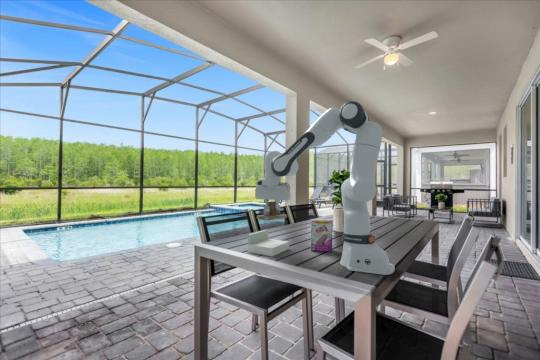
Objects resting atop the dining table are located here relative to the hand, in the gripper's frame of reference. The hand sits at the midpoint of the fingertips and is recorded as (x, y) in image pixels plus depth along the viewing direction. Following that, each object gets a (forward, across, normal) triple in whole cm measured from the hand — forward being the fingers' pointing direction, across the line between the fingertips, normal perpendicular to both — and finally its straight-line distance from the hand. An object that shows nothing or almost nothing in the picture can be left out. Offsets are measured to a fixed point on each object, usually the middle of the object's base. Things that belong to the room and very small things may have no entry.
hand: (272, 208), depth 139 cm
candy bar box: (+23, -22, -16) cm, 35 cm away
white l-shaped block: (+23, +2, 0) cm, 23 cm away
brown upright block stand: (+5, 0, 0) cm, 5 cm away
